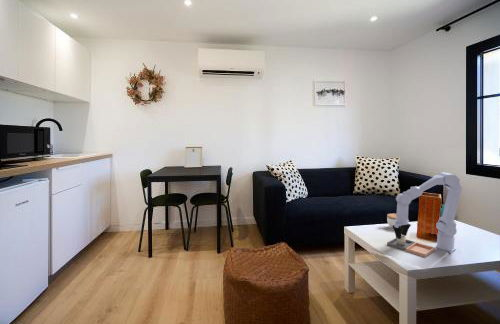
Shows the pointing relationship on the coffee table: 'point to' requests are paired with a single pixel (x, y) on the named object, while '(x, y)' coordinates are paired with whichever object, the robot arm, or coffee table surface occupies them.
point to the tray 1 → (394, 244)
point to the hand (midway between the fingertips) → (401, 236)
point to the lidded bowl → (391, 219)
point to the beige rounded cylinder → (401, 241)
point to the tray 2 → (420, 249)
